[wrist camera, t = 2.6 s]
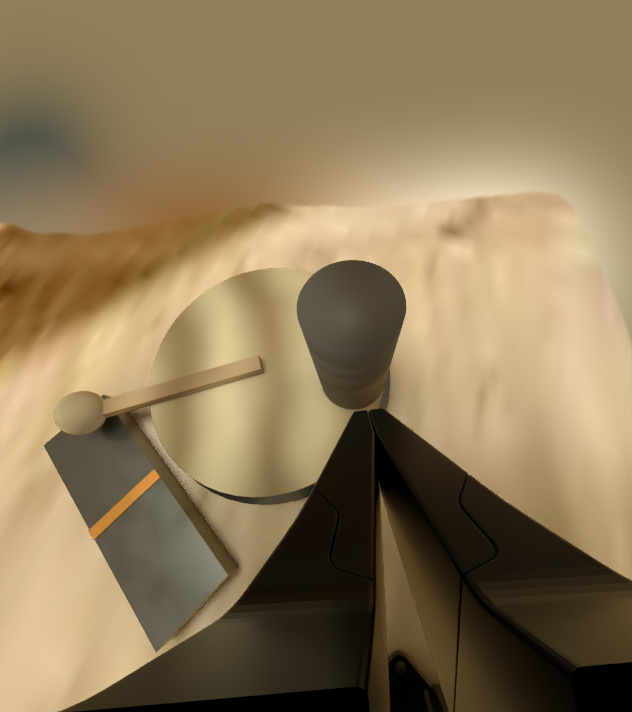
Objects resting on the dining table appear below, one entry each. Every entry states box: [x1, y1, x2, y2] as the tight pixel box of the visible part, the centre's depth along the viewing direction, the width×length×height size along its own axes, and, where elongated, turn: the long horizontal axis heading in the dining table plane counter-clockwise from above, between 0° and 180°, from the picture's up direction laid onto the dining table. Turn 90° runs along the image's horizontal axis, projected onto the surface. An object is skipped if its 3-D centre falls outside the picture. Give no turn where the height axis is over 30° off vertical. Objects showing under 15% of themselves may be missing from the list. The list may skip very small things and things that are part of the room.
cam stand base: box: [44, 370, 390, 652], centre depth 22 cm, size 23×17×2 cm
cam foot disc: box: [54, 260, 406, 497], centre depth 17 cm, size 21×16×10 cm
